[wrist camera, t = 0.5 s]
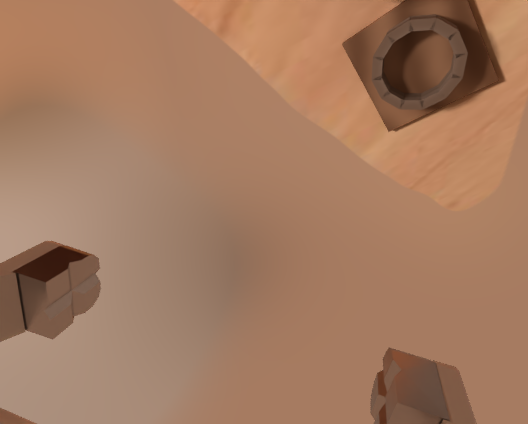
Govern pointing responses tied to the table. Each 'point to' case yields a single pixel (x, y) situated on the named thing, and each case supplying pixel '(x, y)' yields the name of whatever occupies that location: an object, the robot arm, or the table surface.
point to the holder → (420, 58)
